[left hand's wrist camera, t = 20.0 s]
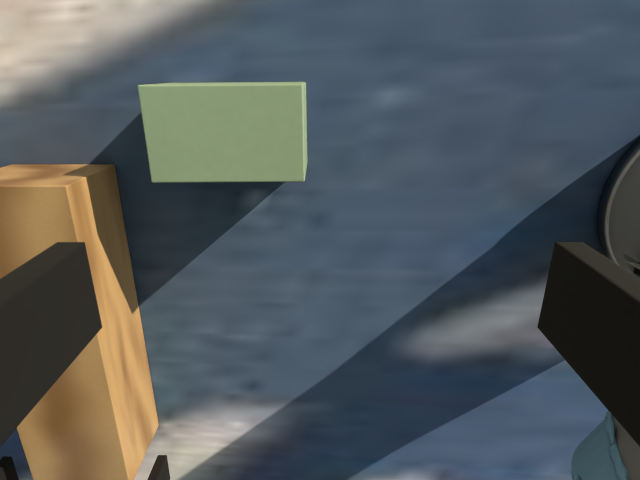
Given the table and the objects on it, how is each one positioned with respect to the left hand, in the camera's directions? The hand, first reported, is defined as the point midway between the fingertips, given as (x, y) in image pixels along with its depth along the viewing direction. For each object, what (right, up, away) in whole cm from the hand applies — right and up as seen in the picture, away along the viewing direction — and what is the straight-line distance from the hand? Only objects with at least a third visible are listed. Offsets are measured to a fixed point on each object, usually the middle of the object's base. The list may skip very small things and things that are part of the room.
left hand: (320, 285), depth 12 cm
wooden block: (-20, -5, +26) cm, 33 cm away
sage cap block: (-6, +10, +21) cm, 24 cm away
